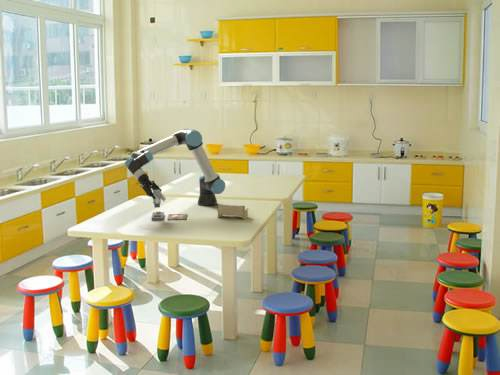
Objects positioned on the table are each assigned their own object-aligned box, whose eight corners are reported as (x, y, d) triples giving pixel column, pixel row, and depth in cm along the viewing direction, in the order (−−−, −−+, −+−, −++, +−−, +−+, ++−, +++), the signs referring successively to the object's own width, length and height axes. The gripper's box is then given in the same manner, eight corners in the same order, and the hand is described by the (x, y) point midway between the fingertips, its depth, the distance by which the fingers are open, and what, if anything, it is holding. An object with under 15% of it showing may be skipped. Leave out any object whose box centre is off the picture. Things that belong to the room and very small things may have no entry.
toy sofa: (248, 217, 458) (248, 203, 456) (245, 220, 450) (245, 205, 448) (220, 215, 463) (220, 201, 462) (216, 218, 455) (216, 204, 453)
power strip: (152, 216, 464) (152, 211, 464) (164, 216, 465) (163, 211, 464) (151, 222, 447) (151, 216, 446) (163, 221, 447) (163, 216, 447)
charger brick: (160, 205, 453) (160, 189, 450) (160, 207, 449) (159, 191, 446) (153, 205, 453) (153, 189, 450) (153, 207, 448) (152, 191, 445)
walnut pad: (187, 215, 465) (186, 213, 464) (186, 220, 449) (186, 218, 449) (168, 215, 464) (168, 214, 464) (167, 220, 448) (167, 219, 448)
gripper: (146, 178, 462) (166, 202, 458) (129, 182, 445) (150, 207, 441) (152, 171, 459) (172, 195, 455) (135, 175, 442) (156, 200, 437)
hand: (161, 201), depth 448 cm, fingers closed on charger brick, 7 cm apart
